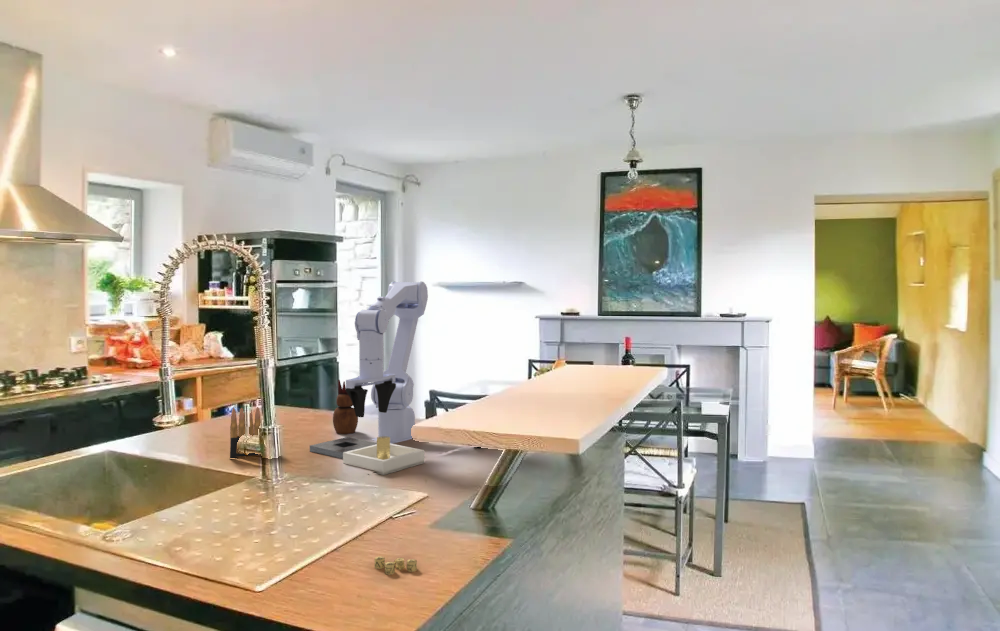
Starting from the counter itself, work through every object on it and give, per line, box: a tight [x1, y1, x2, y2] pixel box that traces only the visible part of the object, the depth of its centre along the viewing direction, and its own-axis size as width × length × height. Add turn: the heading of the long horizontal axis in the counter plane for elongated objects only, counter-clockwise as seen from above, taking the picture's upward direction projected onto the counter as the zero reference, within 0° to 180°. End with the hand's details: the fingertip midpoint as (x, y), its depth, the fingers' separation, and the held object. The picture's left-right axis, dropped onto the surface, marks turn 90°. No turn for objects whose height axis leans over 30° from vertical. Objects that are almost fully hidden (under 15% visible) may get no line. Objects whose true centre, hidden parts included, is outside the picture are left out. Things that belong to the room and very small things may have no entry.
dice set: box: [374, 556, 418, 576], centre depth 104 cm, size 5×5×2 cm
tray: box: [342, 443, 425, 476], centre depth 163 cm, size 13×13×3 cm
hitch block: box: [309, 436, 377, 460], centre depth 174 cm, size 12×12×2 cm
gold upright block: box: [376, 436, 390, 460], centre depth 163 cm, size 3×3×6 cm
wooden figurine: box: [332, 379, 359, 435], centre depth 194 cm, size 7×6×15 cm
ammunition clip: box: [229, 406, 277, 459], centre depth 169 cm, size 11×2×12 cm, turn 107°
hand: (371, 414), depth 174 cm, fingers open, 7 cm apart
